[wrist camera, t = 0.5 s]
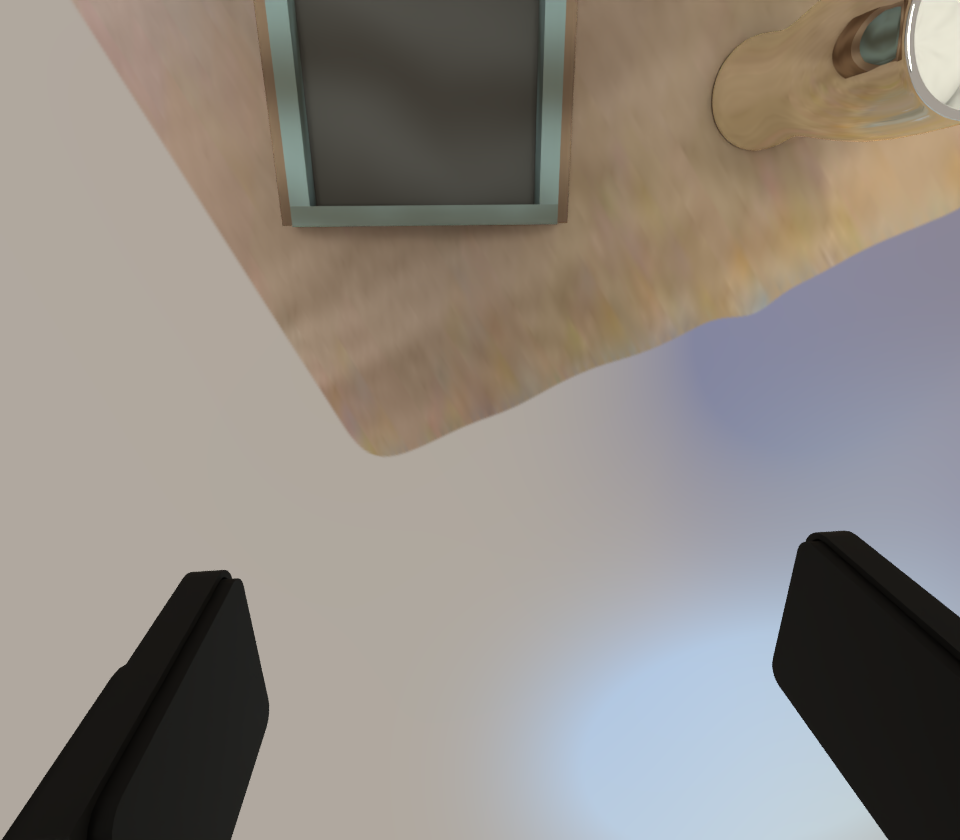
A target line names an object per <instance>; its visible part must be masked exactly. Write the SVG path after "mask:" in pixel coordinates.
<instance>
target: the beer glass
mask: <svg viewBox="0 0 960 840" xmlns="http://www.w3.org/2000/svg"><path fill="white" fill-rule="evenodd" d="M712 110H713V116H714V119H715V122H716V125H717V127H718V129H719V131H720V132H721V134H722V135H723V136H724V137H725V139H726V140H728V141H729V142H730V143H731V144H733V145H735V146H737V147H739V148H742V149H745V150H753V151H755V150H763V149H768V148H771V147H774V146H776V145H778V144H780V143H782V142H784V141H786V140H788V139H790V138H792V137H794V136H803V137H811V138H818V139H825V140H834V141H848V142H870V141H880V140H891V139H897V138H903V137H908V136H914V135H919V134H924V133H928V132H932V131H937V130H941V129H945V128H949V127H953V126H956V125H960V0H819V1H818V2H817V3H816V4H815V5H814V6H813V7H811V8H810V9H809V10H808V11H807V12H806V13H805V14H804V15H802V16H801V17H800V18H799V19H798V20H797V21H796V22H794V23H793V24H792V25H791V26H790V27H788V28H786V29H784V30H780V31H773V32H766V33H761V34H758V35H756V36H753V37H751V38H749V39H747V40H746V41H744V42H743V43H741V44H740V45H739V46H738V47H737V48H735V49H734V50H733V52H732V53H731V54H730V55H729V56H728V57H727V59H726V60H725V62H724V63H723V65H722V67H721V68H720V70H719V73H718V75H717V78H716V81H715V84H714V88H713V94H712Z"/></svg>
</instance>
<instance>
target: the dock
mask: <svg viewBox="0 0 960 840" xmlns="http://www.w3.org/2000/svg"><path fill="white" fill-rule="evenodd" d="M577 4H578V0H254V8H255V15H256V23H257V31H258V39H259V46H260V54H261V62H262V70H263V77H264V85H265V93H266V101H267V108H268V116H269V124H270V132H271V140H272V147H273V155H274V163H275V171H276V178H277V186H278V194H279V202H280V209H281V217H282V225H283V226H292V227H342V226H435V225H529V224H557V223H567V218H568V197H569V175H570V154H571V133H572V111H573V90H574V68H575V47H576V25H577Z"/></svg>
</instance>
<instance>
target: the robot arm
mask: <svg viewBox="0 0 960 840" xmlns="http://www.w3.org/2000/svg"><path fill="white" fill-rule="evenodd" d="M772 667H773V673H774V676H775V679H776V681H777V683H778V685H779V686H780V688H781V689H782V691H783V692H784V693H785V695H786V696H787V697H788V699H789V700H790V701H791V703H792V705H793V706H794V707H795V709H796V710H797V712H798V713H799V714H800V716H801V717H802V719H803V720H804V721H805V723H806V724H807V726H808V727H809V729H810V730H811V731H812V733H813V734H814V736H815V737H816V738H817V740H818V741H819V743H820V744H821V745H822V747H823V748H824V749H825V751H826V753H827V754H828V755H829V757H830V758H831V759H832V761H833V762H834V764H835V765H836V767H837V768H838V769H839V771H840V772H841V773H842V775H843V776H844V778H845V779H846V781H847V782H848V784H849V785H850V786H851V788H852V789H853V790H854V792H855V793H856V795H857V796H858V798H859V799H860V800H861V802H862V803H863V804H864V806H865V807H866V809H867V810H868V812H869V813H870V814H871V816H872V817H873V819H874V820H875V821H876V823H877V824H878V825H879V827H880V828H881V830H882V831H883V833H884V834H885V836H886V837H887V838H888V840H960V617H959V616H957V615H956V614H955V613H954V612H952V611H951V610H950V609H949V608H947V607H946V606H945V605H943V604H942V603H941V602H940V601H939V600H937V599H936V598H935V597H934V596H932V595H931V594H930V593H928V592H927V591H926V590H925V589H923V588H922V587H921V586H920V585H918V584H917V583H916V582H915V581H913V580H912V579H911V578H910V577H908V576H907V575H906V574H905V573H903V572H902V571H901V570H899V569H898V568H897V567H896V566H894V565H893V564H892V563H891V562H889V561H888V560H887V559H886V558H884V557H883V556H882V555H881V554H879V553H878V552H877V551H876V550H874V549H873V548H872V547H871V546H869V545H868V544H867V543H865V542H864V541H863V540H862V539H860V538H859V537H858V536H857V535H855V534H853V533H852V532H850V531H833V532H818V533H813V534H810V535H809V537H808V538H807V539H806V542H803V543H801V544H800V546H799V548H798V551H797V555H796V559H795V564H794V568H793V573H792V577H791V582H790V586H789V590H788V595H787V599H786V603H785V608H784V612H783V617H782V621H781V626H780V630H779V634H778V639H777V643H776V647H775V652H774V656H773V662H772ZM268 717H269V701H268V696H267V691H266V687H265V682H264V677H263V673H262V668H261V664H260V659H259V655H258V650H257V645H256V641H255V636H254V631H253V627H252V622H251V618H250V613H249V609H248V604H247V599H246V595H245V590H244V586H243V583H242V581H241V579H232V577H231V574H230V573H229V572H228V571H226V570H219V571H218V570H217V571H202V572H190V573H188V574H187V575H185V577H184V578H183V579H182V581H181V582H180V584H179V585H178V587H177V588H176V590H175V592H174V593H173V594H172V596H171V598H170V599H169V600H168V602H167V603H166V605H165V606H164V608H163V610H162V611H161V613H160V614H159V616H158V617H157V618H156V620H155V621H154V623H153V625H152V626H151V627H150V629H149V631H148V632H147V634H146V635H145V637H144V638H143V640H142V641H141V643H140V644H139V646H138V647H137V649H136V650H135V652H134V653H133V655H132V656H131V658H130V659H129V661H128V662H127V664H126V665H124V666H123V667H121V668H119V669H118V671H117V672H116V673H115V674H114V675H113V676H112V677H111V679H110V680H109V682H108V683H107V685H106V686H105V688H104V689H103V691H102V693H101V694H100V695H99V697H98V698H97V700H96V701H95V703H94V704H93V706H92V707H91V709H90V710H89V711H88V713H87V714H86V716H85V717H84V719H83V720H82V722H81V724H80V725H79V727H78V728H77V729H76V731H75V732H74V734H73V735H72V737H71V738H70V740H69V741H68V743H67V744H66V746H65V747H64V749H63V750H62V751H61V753H60V755H59V756H58V758H57V759H56V760H55V762H54V764H53V765H52V766H51V768H50V769H49V771H48V772H47V774H46V775H45V777H44V778H43V780H42V781H41V783H40V784H39V786H38V787H37V789H36V790H35V791H34V793H33V794H32V796H31V798H30V799H29V800H28V802H27V804H26V805H25V806H24V808H23V809H22V811H21V812H20V814H19V815H18V817H17V818H16V820H15V821H14V823H13V824H12V826H11V827H10V829H9V830H8V831H7V833H6V835H5V836H4V837H3V839H2V840H231V837H232V834H233V831H234V828H235V825H236V822H237V818H238V815H239V812H240V809H241V806H242V803H243V800H244V796H245V793H246V790H247V787H248V784H249V780H250V778H251V774H252V771H253V768H254V765H255V762H256V759H257V755H258V752H259V749H260V746H261V743H262V739H263V737H264V733H265V730H266V727H267V723H268Z"/></svg>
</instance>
